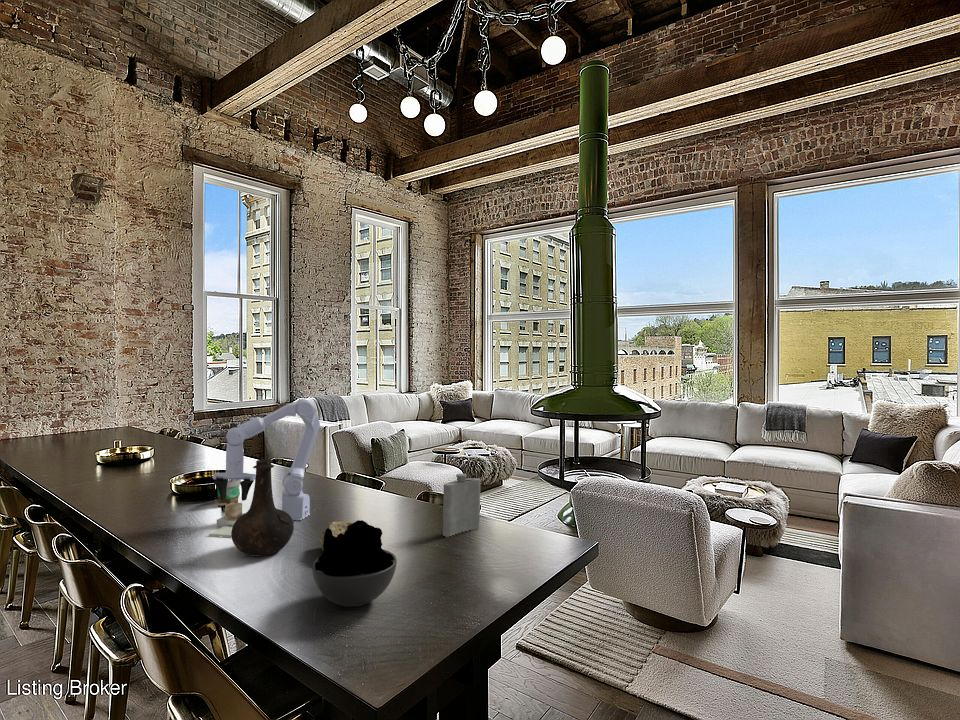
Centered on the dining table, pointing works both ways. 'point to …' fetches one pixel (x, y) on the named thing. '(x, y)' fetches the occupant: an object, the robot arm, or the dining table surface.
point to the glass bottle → (262, 519)
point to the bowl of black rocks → (354, 565)
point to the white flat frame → (226, 522)
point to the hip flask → (461, 505)
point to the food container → (230, 493)
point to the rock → (335, 529)
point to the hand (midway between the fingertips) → (233, 499)
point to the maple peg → (233, 510)
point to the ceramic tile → (222, 532)
